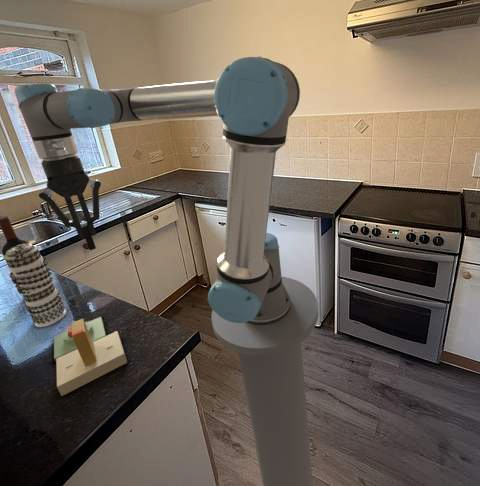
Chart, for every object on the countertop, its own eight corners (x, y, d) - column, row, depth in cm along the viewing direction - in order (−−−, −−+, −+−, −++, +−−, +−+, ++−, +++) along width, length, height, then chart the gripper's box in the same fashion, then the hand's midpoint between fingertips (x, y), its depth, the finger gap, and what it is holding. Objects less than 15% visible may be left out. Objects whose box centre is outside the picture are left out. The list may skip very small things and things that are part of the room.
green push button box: (102, 319, 91) (99, 311, 90) (106, 338, 83) (103, 330, 82) (55, 339, 85) (51, 331, 84) (55, 362, 77) (51, 353, 76)
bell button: (85, 324, 85) (83, 319, 85) (86, 332, 82) (84, 327, 82) (69, 331, 83) (66, 326, 83) (69, 339, 80) (67, 334, 80)
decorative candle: (74, 307, 98) (46, 239, 89) (52, 327, 89) (19, 255, 80) (49, 307, 99) (19, 240, 90) (25, 327, 90) (-11, 256, 81)
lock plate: (120, 339, 82) (117, 330, 81) (127, 362, 74) (124, 353, 73) (60, 367, 75) (56, 357, 74) (61, 396, 67) (56, 386, 66)
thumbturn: (83, 351, 75) (70, 322, 72) (94, 346, 77) (82, 317, 73) (85, 366, 71) (71, 336, 67) (96, 361, 72) (84, 331, 69)
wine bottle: (22, 304, 102) (-17, 224, 91) (27, 293, 108) (-9, 217, 97) (49, 296, 105) (14, 218, 94) (51, 285, 112) (19, 211, 101)
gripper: (23, 165, 62) (63, 262, 71) (93, 153, 69) (122, 243, 78) (25, 160, 68) (62, 251, 77) (90, 150, 75) (117, 235, 83)
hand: (92, 247), depth 77 cm, fingers closed
